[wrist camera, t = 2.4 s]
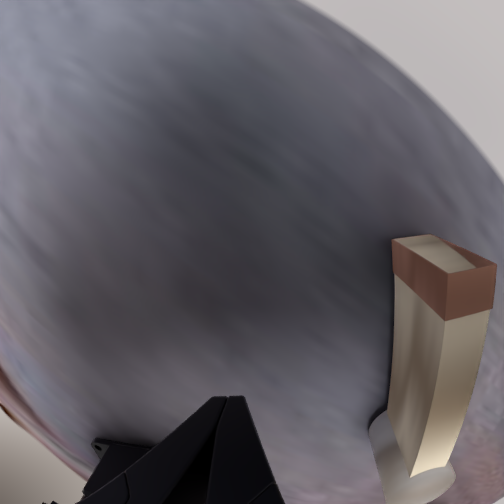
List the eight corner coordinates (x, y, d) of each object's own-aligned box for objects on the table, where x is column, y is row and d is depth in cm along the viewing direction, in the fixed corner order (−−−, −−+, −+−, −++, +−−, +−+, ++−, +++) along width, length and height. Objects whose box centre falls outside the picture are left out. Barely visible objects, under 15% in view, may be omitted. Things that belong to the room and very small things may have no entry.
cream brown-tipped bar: (419, 436, 12) (444, 497, 8) (366, 450, 13) (381, 516, 8) (444, 231, 10) (517, 261, 6) (371, 240, 10) (425, 281, 6)
